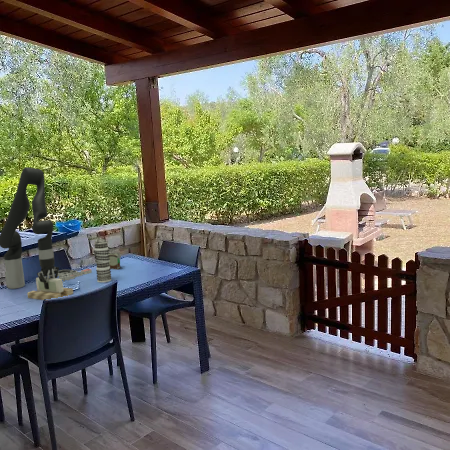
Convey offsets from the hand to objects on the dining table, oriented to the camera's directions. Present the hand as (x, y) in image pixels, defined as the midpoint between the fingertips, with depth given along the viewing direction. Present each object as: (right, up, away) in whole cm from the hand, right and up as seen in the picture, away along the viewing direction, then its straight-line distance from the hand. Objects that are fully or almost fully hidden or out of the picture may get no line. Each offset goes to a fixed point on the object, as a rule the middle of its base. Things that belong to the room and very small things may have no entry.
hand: (50, 287), depth 247 cm
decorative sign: (-4, +1, +44) cm, 44 cm away
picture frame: (0, -2, 0) cm, 2 cm away
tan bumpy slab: (0, -5, +1) cm, 5 cm away
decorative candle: (+23, 0, +26) cm, 35 cm away
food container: (+23, +5, +55) cm, 60 cm away
